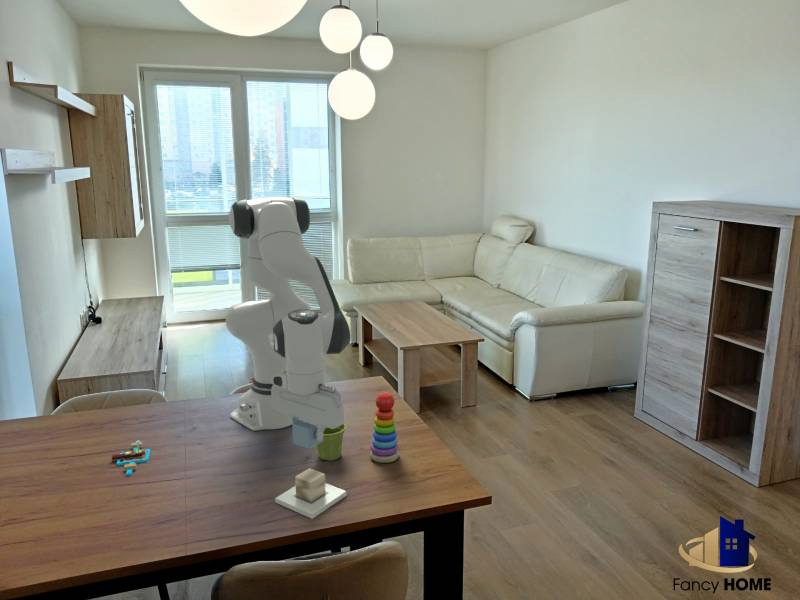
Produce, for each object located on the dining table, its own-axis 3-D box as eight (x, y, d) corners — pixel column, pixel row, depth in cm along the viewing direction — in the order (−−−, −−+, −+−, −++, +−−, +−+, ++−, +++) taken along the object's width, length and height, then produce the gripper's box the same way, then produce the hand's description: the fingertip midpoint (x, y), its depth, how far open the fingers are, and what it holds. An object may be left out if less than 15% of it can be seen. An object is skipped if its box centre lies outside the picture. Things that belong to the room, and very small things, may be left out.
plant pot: (319, 467, 162) (318, 437, 160) (308, 452, 170) (306, 423, 168) (352, 459, 166) (351, 430, 164) (339, 445, 174) (338, 417, 172)
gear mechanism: (106, 480, 157) (145, 475, 159) (103, 461, 155) (143, 456, 158) (118, 446, 175) (153, 442, 178) (116, 429, 174) (151, 425, 177)
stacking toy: (395, 465, 162) (395, 400, 158) (367, 462, 164) (365, 398, 160) (401, 452, 170) (401, 389, 166) (374, 449, 171) (372, 387, 167)
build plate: (275, 502, 145) (275, 497, 145) (310, 481, 155) (310, 476, 154) (312, 518, 138) (312, 513, 138) (346, 495, 148) (346, 490, 148)
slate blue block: (293, 443, 142) (292, 423, 141) (308, 435, 146) (307, 416, 145) (308, 449, 140) (307, 428, 138) (323, 441, 144) (322, 421, 142)
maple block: (296, 495, 146) (295, 476, 144) (310, 486, 150) (309, 468, 148) (311, 502, 143) (310, 482, 142) (325, 492, 147) (324, 473, 146)
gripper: (349, 385, 136) (350, 442, 139) (285, 368, 148) (287, 420, 151) (330, 394, 131) (332, 452, 134) (265, 375, 143) (268, 430, 146)
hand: (308, 435), depth 143 cm, fingers closed on slate blue block, 5 cm apart
